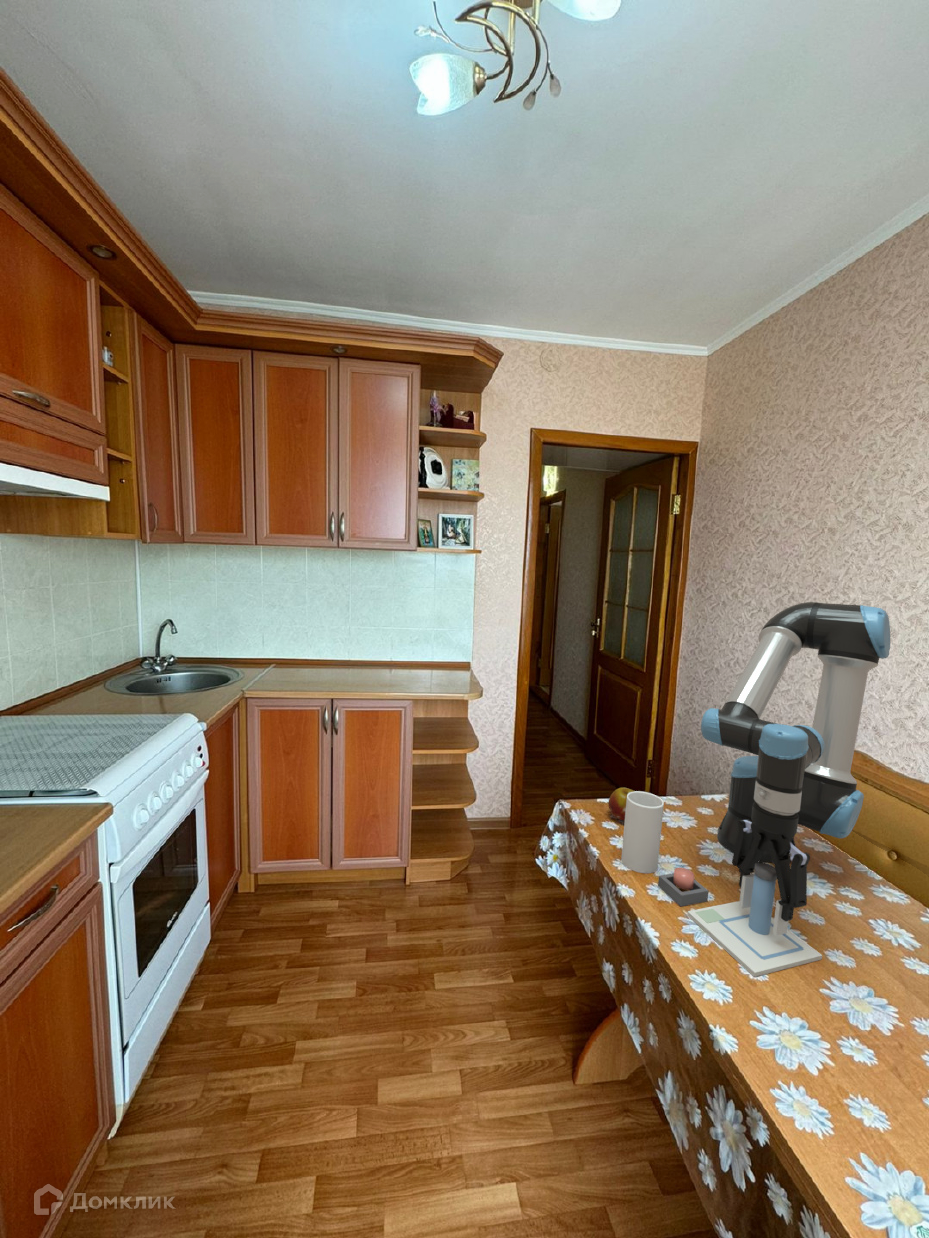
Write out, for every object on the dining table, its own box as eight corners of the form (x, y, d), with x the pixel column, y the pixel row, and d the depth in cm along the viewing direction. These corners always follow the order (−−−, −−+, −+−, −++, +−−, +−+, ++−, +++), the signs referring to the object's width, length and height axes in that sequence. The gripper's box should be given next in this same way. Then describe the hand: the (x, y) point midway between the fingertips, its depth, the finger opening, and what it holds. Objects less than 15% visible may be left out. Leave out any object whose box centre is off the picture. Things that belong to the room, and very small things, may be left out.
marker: (757, 919, 100) (764, 860, 99) (774, 932, 97) (782, 871, 95) (743, 923, 99) (750, 863, 98) (760, 937, 95) (768, 875, 94)
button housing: (683, 881, 113) (684, 871, 113) (707, 901, 106) (708, 890, 106) (657, 885, 111) (658, 875, 111) (680, 906, 104) (681, 895, 104)
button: (684, 876, 111) (685, 866, 111) (697, 888, 107) (698, 877, 107) (669, 879, 110) (670, 868, 109) (682, 890, 106) (683, 879, 106)
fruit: (636, 830, 135) (638, 801, 134) (602, 819, 140) (605, 792, 139) (644, 816, 143) (647, 789, 142) (613, 806, 148) (615, 780, 147)
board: (748, 902, 107) (748, 898, 107) (821, 959, 92) (822, 954, 91) (687, 914, 102) (687, 910, 102) (754, 976, 87) (754, 972, 87)
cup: (660, 876, 115) (667, 809, 113) (623, 870, 116) (629, 804, 115) (654, 856, 123) (660, 793, 121) (619, 850, 124) (625, 789, 123)
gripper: (719, 786, 104) (707, 890, 106) (811, 836, 85) (795, 961, 87) (747, 783, 106) (735, 884, 108) (843, 831, 87) (826, 953, 90)
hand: (762, 918), depth 98 cm, fingers open, 7 cm apart
